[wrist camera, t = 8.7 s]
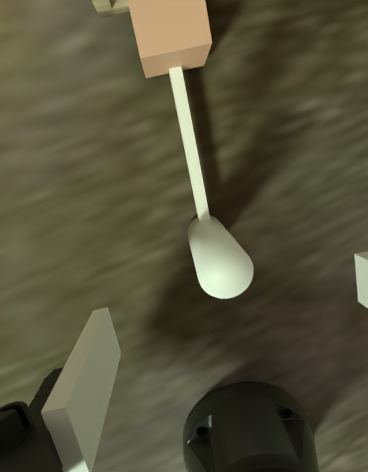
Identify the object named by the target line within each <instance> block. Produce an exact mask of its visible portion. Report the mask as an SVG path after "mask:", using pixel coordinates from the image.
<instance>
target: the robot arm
mask: <svg viewBox="0 0 368 472" xmlns="http://www.w3.org/2000/svg"><path fill="white" fill-rule="evenodd" d="M354 255H355V268H356V280H357V293H358V302H359V303H361V304H362V305H364V306H365V307H366V308H368V251H366V252H361V253H356V254H354ZM120 356H121V351H120V348H119V344H118V341H117V338H116V334H115V331H114V327H113V324H112V320H111V317H110V314H109V310H108V307H107V308H103V309H98V310H93V312H92V314H91V316H90V318H89V320H88V322H87V324H86V325H85V327H84V329H83V331H82V333H81V335H80V337H79V339H78V341H77V343H76V345H75V347H74V349H73V351H72V353H71V355H70V357H69V359H68V360H67V362H66V364H65V366H64V367H63V368H59V369H54V370H53V371H52V372H51V373H50V374H49V375H48V376H47V377H46V378H45V379H44V381H43V383H42V384H41V386H40V388H39V391H37V393H36V395H35V397H34V399H33V400H32V402H31V403H30V405H29V407H28V406H27V404H26V403H24V402H13V403H9V404H7V405H5V406H3V407H1V408H0V472H92V469H93V465H94V461H95V456H96V452H97V448H98V444H99V440H100V436H101V432H102V428H103V424H104V420H105V416H106V412H107V408H108V404H109V400H110V396H111V392H112V388H113V384H114V380H115V376H116V372H117V368H118V364H119V360H120ZM183 454H184V462H185V466H186V469H187V472H319V467H318V461H317V455H316V449H315V443H314V437H313V433H312V429H311V427H310V424H309V422H308V420H307V418H306V416H305V415H304V413H303V411H302V409H301V407H300V406H299V404H298V403H297V402H296V401H295V399H294V398H293V397H291V396H290V395H289V394H288V393H286V392H285V391H283V390H281V389H279V388H277V387H274V386H271V385H267V384H262V383H239V384H234V385H230V386H227V387H224V388H221V389H219V390H217V391H215V392H213V393H211V394H210V395H208V396H207V397H205V398H204V399H203V400H202V401H200V402H199V403H198V404H197V406H196V407H195V408H194V409H193V410H192V412H191V413H190V415H189V417H188V418H187V421H186V423H185V426H184V430H183ZM62 469H63V470H62Z"/></svg>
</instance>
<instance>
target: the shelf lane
mask: <svg viewBox="0 0 368 472" xmlns="http://www.w3.org/2000/svg"><path fill="white" fill-rule="evenodd" d="M92 2H93V4H94V6H95V8H96V10H97V12H98V14H99V16H100V18H102V17H107V16H111V15H116V14H120V13H125V12H130V9H129V4H128V0H92Z"/></svg>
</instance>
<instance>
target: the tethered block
mask: <svg viewBox="0 0 368 472" xmlns="http://www.w3.org/2000/svg"><path fill="white" fill-rule="evenodd" d="M128 4H129V9H130V13H131V18H132V22H133V27H134V32H135V36H136V41H137V45H138V50H139V54H140V59H141V63H142V66H143V70H144V73H145V77H146V78H149V77H154V76H158V75H163V74H168V73H169V74H170V79H171V84H172V89H173V94H174V99H175V104H176V109H177V114H178V119H179V124H180V129H181V134H182V139H183V144H184V149H185V154H186V159H187V164H188V169H189V174H190V179H191V184H192V189H193V194H194V199H195V204H196V209H197V214H198V217H197V218H195V219H194V220H193V221H192V222H191V223H190V225H189V227H188V231H187V235H188V240H189V244H190V248H191V252H192V256H193V260H194V264H195V268H196V272H197V276H198V280H199V283H200V285H201V287H202V288H203V289H204V291H205V292H207V293H208V294H209V295H211V296H213V297H216V298H221V299H227V298H232V297H235V296H238V295H239V294H241V293H242V292H244V291H245V290H246V289H247V287H248V286H249V285H250V283H251V281H252V278H253V272H254V269H253V264H252V261H251V259H250V257H249V256H248V255H247V253H246V252H245V251H244V250H243V249H242V247H241V246H240V245H239V244H238V243H237V241H236V240H235V239H234V238H233V237H232V235H231V234H230V233H229V232H228V231H227V230H226V228H225V227H224V226H223V225H222V224H221V222H220V221H219V220H218V219H217V218H215V217H213V216H210V215H209V210H208V205H207V200H206V194H205V189H204V184H203V179H202V173H201V168H200V163H199V157H198V152H197V147H196V142H195V136H194V131H193V126H192V120H191V115H190V110H189V104H188V99H187V94H186V89H185V83H184V78H183V73H182V70H186V69H191V68H196V67H200V66H204V64H205V62H206V59H207V56H208V53H209V51H210V48H211V45H212V39H211V33H210V26H209V20H208V14H207V8H206V2H205V0H128Z"/></svg>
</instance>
